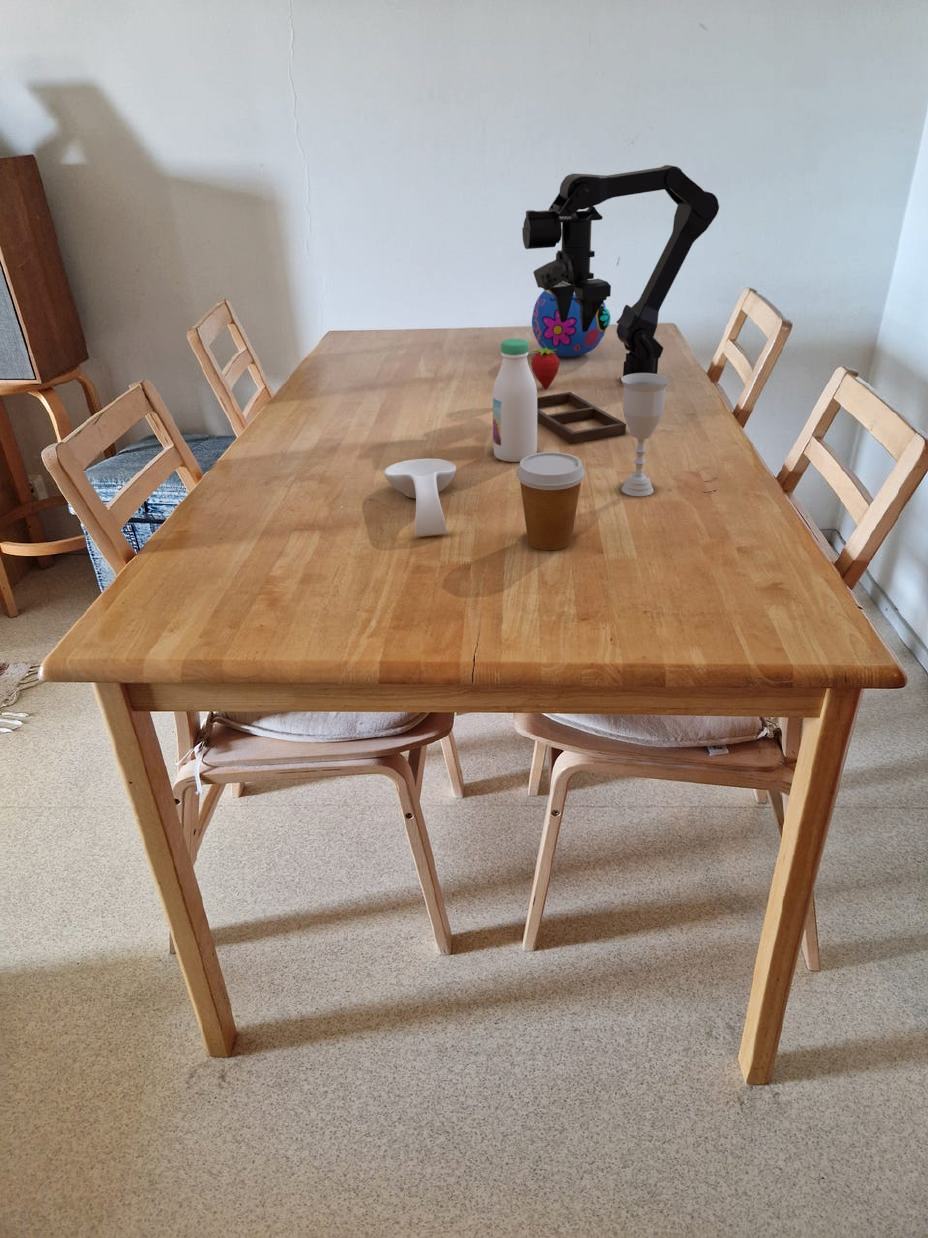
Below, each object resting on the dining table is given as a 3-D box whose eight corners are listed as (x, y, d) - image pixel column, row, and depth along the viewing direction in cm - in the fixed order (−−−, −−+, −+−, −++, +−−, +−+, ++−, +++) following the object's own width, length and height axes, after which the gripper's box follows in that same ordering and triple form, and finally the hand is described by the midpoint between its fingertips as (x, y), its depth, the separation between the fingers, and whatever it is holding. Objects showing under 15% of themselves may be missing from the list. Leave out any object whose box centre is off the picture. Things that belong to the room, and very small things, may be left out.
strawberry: (533, 394, 188) (533, 346, 183) (529, 384, 195) (529, 337, 189) (561, 393, 188) (562, 345, 183) (556, 382, 195) (557, 336, 190)
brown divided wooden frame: (569, 401, 184) (570, 391, 183) (625, 434, 166) (626, 423, 165) (519, 409, 180) (519, 400, 179) (571, 444, 163) (571, 433, 162)
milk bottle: (543, 450, 161) (544, 337, 150) (527, 465, 155) (527, 349, 145) (503, 445, 164) (502, 333, 153) (486, 459, 158) (484, 345, 147)
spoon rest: (383, 480, 152) (379, 439, 148) (452, 474, 153) (450, 433, 149) (393, 541, 132) (390, 496, 128) (472, 534, 133) (471, 489, 129)
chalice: (663, 484, 146) (673, 374, 137) (657, 500, 141) (666, 387, 131) (618, 479, 148) (625, 371, 139) (610, 495, 143) (617, 384, 133)
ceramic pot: (610, 363, 206) (614, 295, 198) (533, 366, 206) (533, 298, 198) (601, 343, 221) (604, 279, 213) (529, 346, 221) (530, 282, 213)
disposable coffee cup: (564, 561, 124) (566, 481, 118) (504, 546, 129) (503, 468, 123) (593, 534, 131) (596, 457, 125) (535, 521, 136) (536, 446, 129)
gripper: (518, 242, 181) (518, 322, 189) (561, 256, 166) (560, 342, 174) (567, 237, 184) (565, 315, 192) (614, 250, 169) (610, 334, 177)
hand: (573, 326), depth 184 cm, fingers open, 9 cm apart
